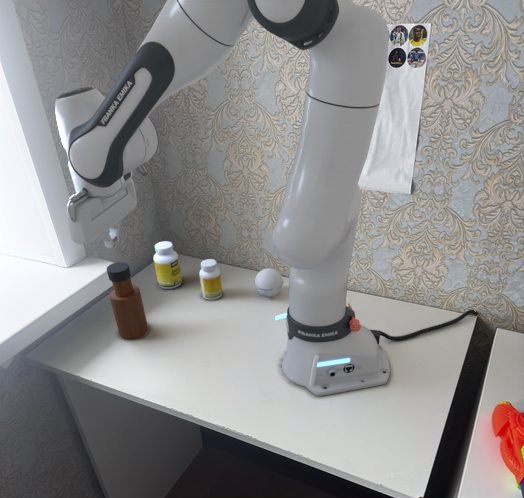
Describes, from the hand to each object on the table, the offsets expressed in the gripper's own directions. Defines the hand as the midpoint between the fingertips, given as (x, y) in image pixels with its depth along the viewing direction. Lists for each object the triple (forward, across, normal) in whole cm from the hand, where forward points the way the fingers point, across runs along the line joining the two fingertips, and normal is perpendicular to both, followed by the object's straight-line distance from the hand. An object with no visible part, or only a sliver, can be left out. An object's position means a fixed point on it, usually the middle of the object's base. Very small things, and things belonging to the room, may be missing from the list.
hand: (112, 245), depth 106 cm
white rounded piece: (+23, +23, -28) cm, 43 cm away
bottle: (+23, 0, 0) cm, 23 cm away
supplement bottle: (+23, +20, -12) cm, 33 cm away
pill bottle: (+23, +23, +1) cm, 32 cm away
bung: (+9, 0, 0) cm, 9 cm away
